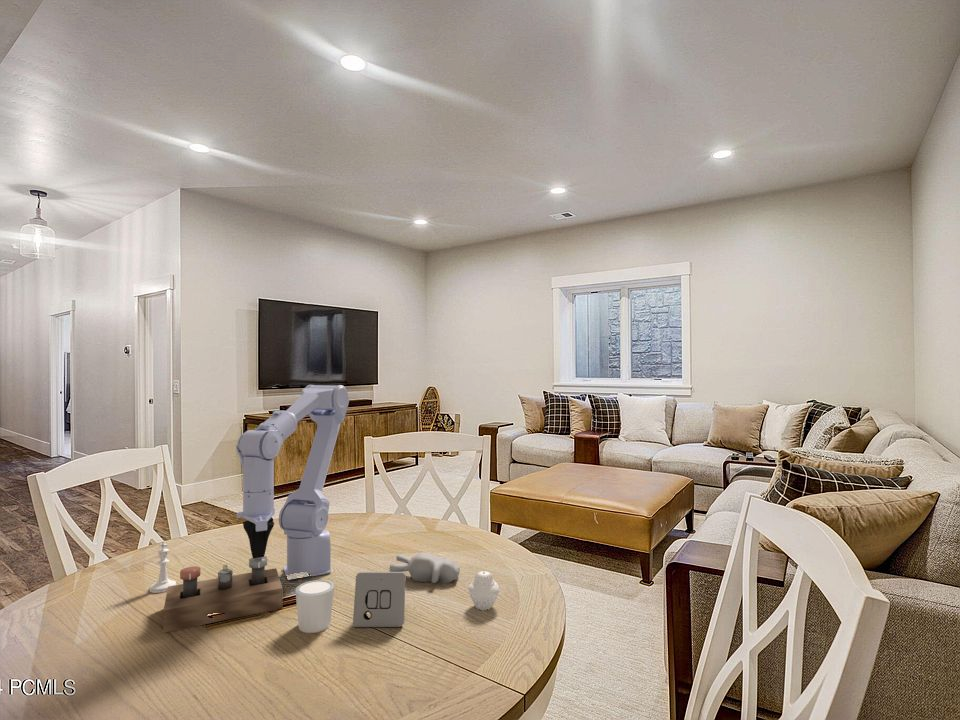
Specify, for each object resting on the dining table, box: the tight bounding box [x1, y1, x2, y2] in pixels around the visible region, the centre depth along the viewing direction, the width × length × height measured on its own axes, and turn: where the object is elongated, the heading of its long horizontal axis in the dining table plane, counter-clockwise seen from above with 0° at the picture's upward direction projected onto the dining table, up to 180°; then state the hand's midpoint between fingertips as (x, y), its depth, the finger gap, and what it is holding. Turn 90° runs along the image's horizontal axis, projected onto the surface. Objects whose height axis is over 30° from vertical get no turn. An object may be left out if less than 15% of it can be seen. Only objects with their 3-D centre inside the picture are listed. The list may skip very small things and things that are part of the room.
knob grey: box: [248, 555, 268, 586], centre depth 104 cm, size 3×4×5 cm
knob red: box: [179, 566, 201, 598], centre depth 99 cm, size 3×4×5 cm
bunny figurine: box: [388, 551, 461, 584], centre depth 116 cm, size 10×5×15 cm
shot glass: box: [294, 579, 335, 634], centre depth 95 cm, size 7×7×7 cm
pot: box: [217, 564, 233, 590], centre depth 102 cm, size 3×3×4 cm
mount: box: [162, 568, 284, 634], centre depth 102 cm, size 20×11×4 cm, turn 118°
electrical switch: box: [352, 571, 407, 628], centre depth 97 cm, size 9×5×9 cm, turn 90°
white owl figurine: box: [467, 570, 500, 611], centre depth 102 cm, size 6×6×7 cm
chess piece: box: [149, 540, 177, 594], centre depth 111 cm, size 5×5×10 cm
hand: (258, 556), depth 105 cm, fingers closed
